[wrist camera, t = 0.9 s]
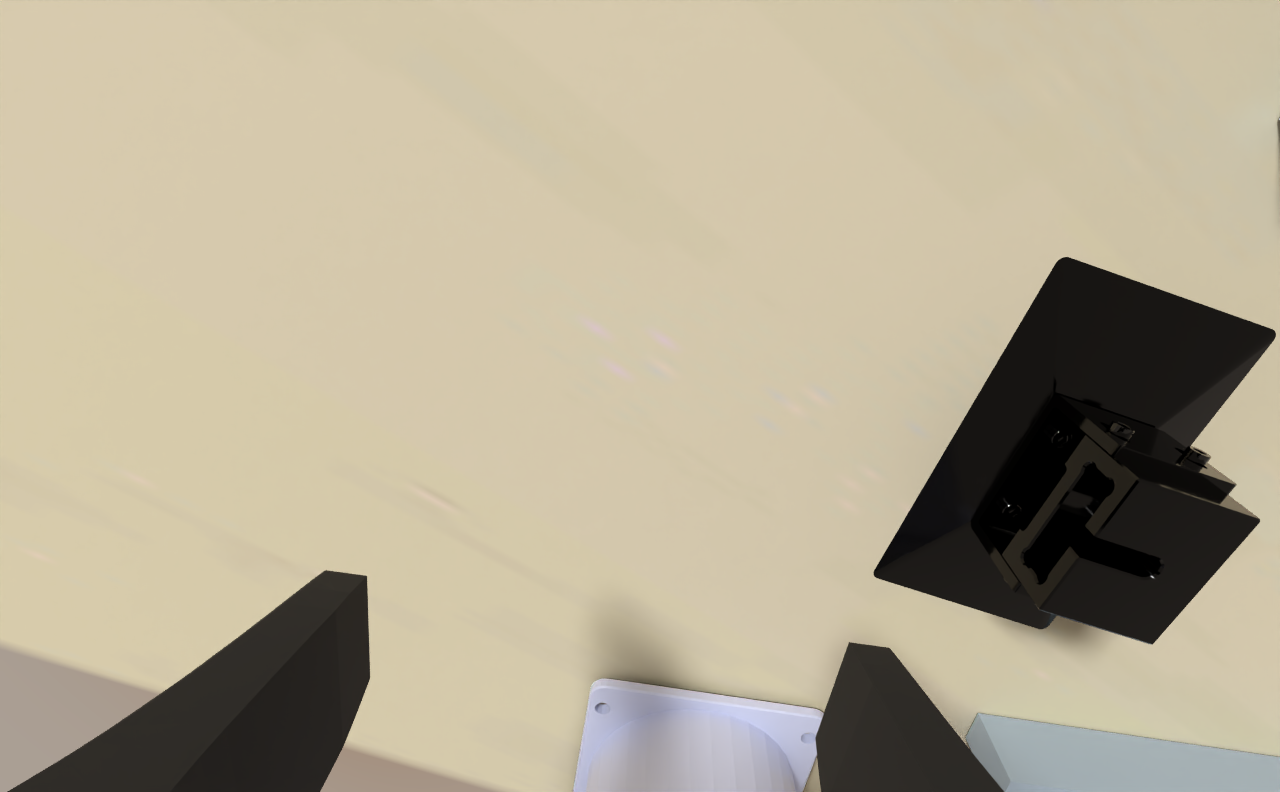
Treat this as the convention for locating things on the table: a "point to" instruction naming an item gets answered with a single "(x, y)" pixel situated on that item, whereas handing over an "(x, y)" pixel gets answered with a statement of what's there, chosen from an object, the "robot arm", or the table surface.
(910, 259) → the table surface
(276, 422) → the table surface
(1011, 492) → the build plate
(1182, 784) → the bay
